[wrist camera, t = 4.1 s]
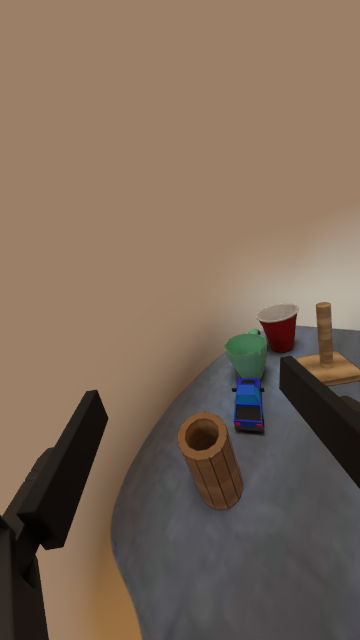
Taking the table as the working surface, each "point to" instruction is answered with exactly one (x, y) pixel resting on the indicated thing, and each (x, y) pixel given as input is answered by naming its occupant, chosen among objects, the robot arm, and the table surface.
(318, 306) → the towel stand
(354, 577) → the table surface
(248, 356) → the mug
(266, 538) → the table surface
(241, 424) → the toy car
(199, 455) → the wooden tube
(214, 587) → the table surface
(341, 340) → the table surface
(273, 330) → the plastic cup
